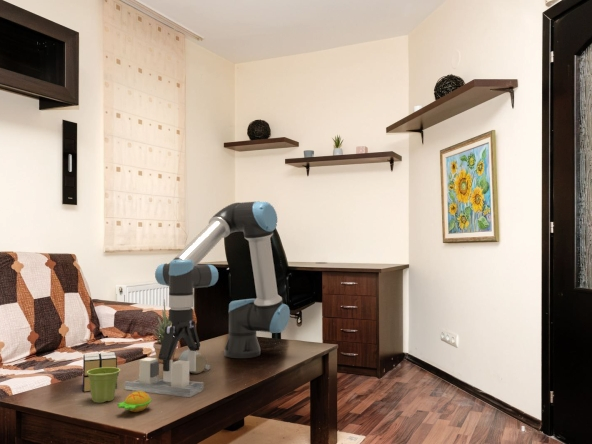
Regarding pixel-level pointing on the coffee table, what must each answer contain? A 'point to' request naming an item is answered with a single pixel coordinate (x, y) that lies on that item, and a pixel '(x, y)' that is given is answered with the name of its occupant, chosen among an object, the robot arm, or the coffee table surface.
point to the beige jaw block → (180, 373)
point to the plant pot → (103, 383)
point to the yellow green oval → (136, 401)
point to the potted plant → (162, 334)
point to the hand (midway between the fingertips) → (180, 376)
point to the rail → (165, 387)
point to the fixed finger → (148, 370)
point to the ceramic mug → (199, 361)
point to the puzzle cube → (96, 365)
